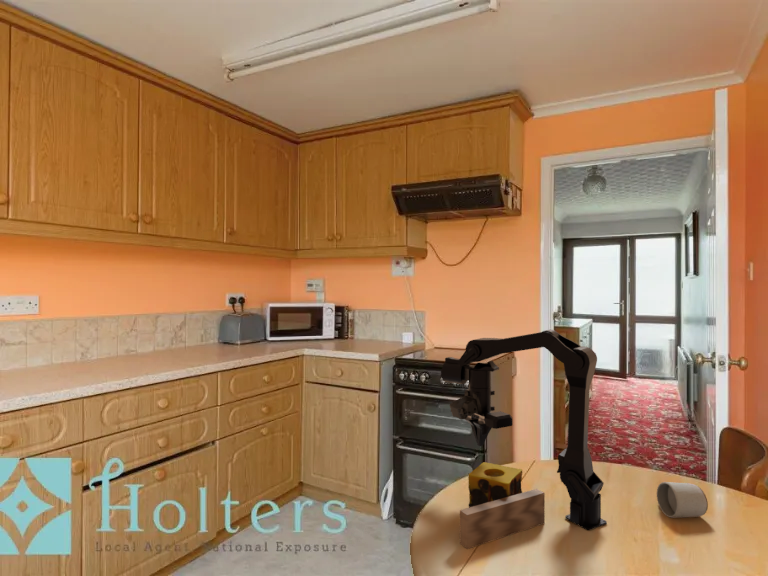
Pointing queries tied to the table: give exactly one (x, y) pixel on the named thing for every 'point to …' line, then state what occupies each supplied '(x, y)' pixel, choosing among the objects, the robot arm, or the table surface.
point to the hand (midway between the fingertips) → (480, 445)
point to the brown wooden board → (501, 518)
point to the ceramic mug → (681, 500)
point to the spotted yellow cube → (493, 483)
